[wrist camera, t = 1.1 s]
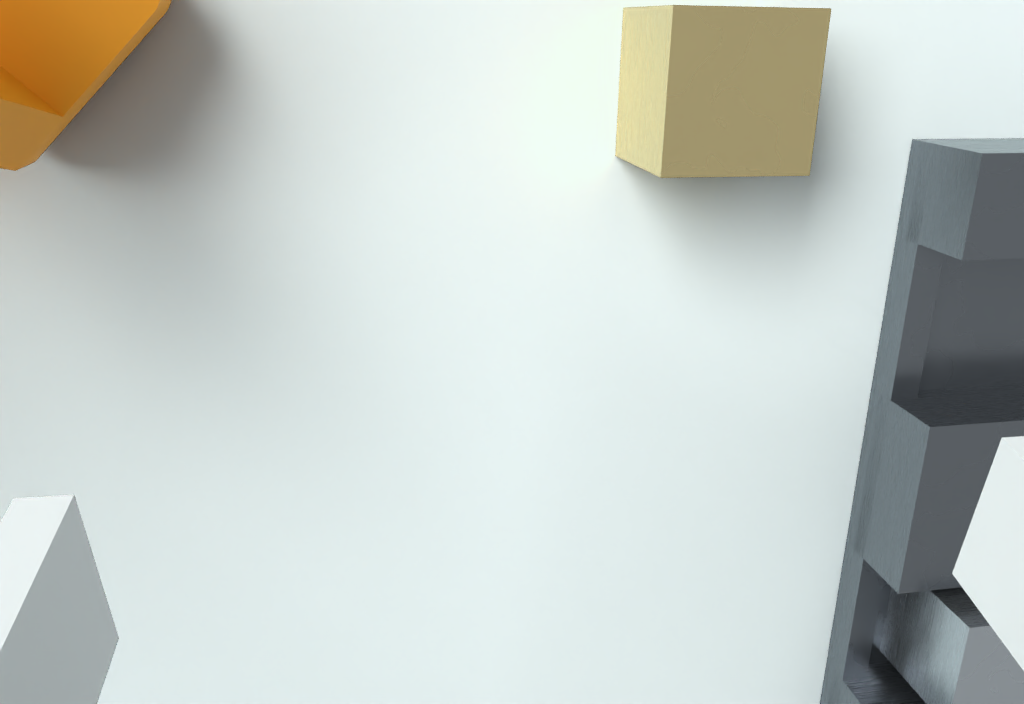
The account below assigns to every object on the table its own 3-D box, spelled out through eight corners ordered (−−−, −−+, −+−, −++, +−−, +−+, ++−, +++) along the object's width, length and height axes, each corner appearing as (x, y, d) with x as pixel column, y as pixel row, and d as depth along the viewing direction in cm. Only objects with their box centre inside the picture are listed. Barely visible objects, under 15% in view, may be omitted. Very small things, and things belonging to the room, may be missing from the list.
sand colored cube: (744, 154, 33) (809, 175, 29) (614, 155, 32) (660, 177, 28) (759, 10, 31) (831, 8, 27) (622, 7, 31) (673, 5, 26)
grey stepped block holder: (989, 699, 45) (1047, 759, 42) (816, 722, 44) (861, 787, 40) (1126, 137, 36) (1217, 150, 32) (912, 139, 34) (982, 153, 30)
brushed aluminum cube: (974, 638, 43) (1051, 712, 38) (879, 650, 42) (946, 727, 37) (995, 548, 41) (1078, 615, 37) (896, 558, 40) (969, 628, 36)
